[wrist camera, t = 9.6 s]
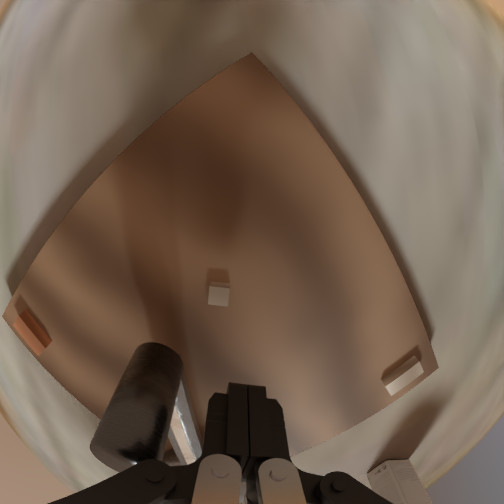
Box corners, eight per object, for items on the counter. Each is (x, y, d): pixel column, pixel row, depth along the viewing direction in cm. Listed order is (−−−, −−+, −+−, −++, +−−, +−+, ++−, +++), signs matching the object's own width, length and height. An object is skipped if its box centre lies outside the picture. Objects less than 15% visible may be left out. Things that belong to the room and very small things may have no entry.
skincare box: (364, 474, 25) (386, 540, 14) (388, 457, 24) (416, 525, 13) (390, 473, 26) (412, 530, 15) (411, 457, 25) (439, 515, 14)
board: (207, 468, 22) (205, 490, 19) (15, 305, 16) (-5, 322, 13) (427, 354, 19) (444, 374, 16) (250, 66, 12) (252, 44, 10)
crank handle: (256, 486, 20) (260, 549, 12) (171, 482, 20) (162, 543, 12) (247, 316, 14) (254, 455, 6) (94, 315, 14) (18, 411, 6)
